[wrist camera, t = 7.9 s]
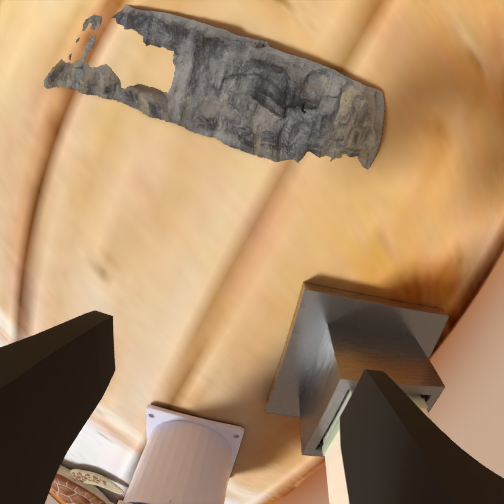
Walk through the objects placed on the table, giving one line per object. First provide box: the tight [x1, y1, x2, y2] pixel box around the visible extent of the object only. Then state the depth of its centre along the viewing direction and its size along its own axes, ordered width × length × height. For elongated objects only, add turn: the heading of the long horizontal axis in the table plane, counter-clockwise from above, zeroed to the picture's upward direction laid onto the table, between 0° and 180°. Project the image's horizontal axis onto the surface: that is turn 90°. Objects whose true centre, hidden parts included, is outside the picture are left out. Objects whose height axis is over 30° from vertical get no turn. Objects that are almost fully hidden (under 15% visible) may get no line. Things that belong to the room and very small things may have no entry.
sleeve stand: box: [266, 282, 449, 457], centre depth 17 cm, size 10×10×6 cm
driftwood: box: [44, 5, 385, 169], centre depth 15 cm, size 21×7×2 cm, turn 66°
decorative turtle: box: [51, 465, 124, 504], centre depth 28 cm, size 18×17×5 cm
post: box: [322, 390, 432, 504], centre depth 12 cm, size 4×4×8 cm
